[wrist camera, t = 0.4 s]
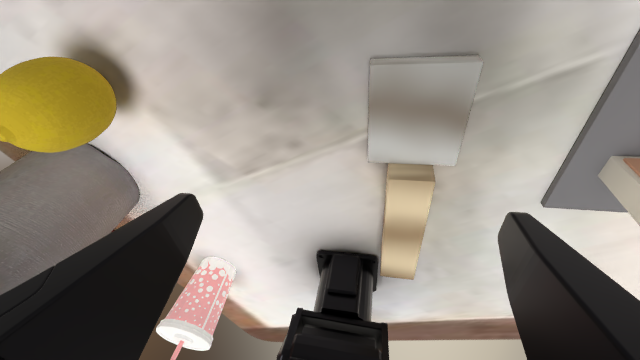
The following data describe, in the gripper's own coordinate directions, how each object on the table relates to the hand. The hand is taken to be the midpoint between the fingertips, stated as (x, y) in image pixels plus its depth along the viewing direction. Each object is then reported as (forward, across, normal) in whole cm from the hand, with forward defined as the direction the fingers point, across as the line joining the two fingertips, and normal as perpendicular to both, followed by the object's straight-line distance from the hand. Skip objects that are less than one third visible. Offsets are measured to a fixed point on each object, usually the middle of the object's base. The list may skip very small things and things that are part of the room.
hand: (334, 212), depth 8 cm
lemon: (+13, +20, 0) cm, 23 cm away
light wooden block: (+13, -3, +9) cm, 16 cm away
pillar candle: (+13, +28, +10) cm, 32 cm away
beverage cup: (+13, +19, +25) cm, 34 cm away
